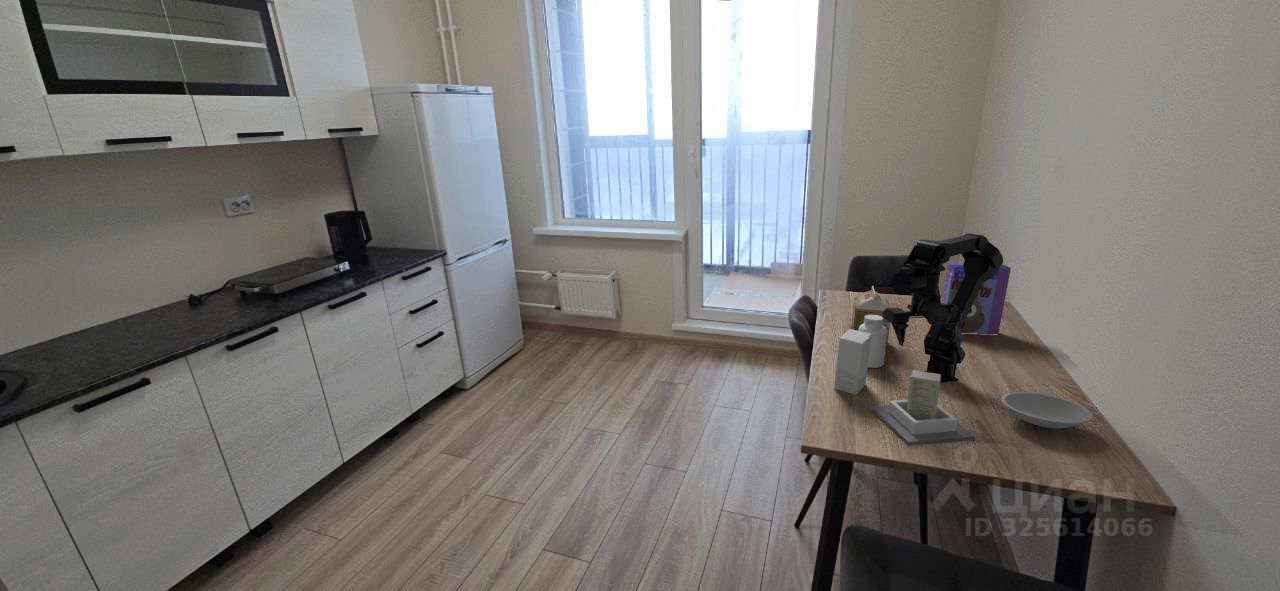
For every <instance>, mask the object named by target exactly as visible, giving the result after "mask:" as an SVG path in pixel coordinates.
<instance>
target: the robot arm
mask: <svg viewBox="0 0 1280 591" xmlns="http://www.w3.org/2000/svg"><path fill="white" fill-rule="evenodd" d="M958 255H961V256H962V258H963V259H964V260H963V263H962V264H963V268H964V273H965V276H964V278H963V280H962V282H961V284H960V286H959V288H958V290H957V292H956V294H955V296H954V298H953V300H952V302H951V304H948V305H946V304H942V300H941V299H942V297H941V294H939V293H938V291H939V285H940V278H941V273H942V272H944V271H946V267H945V266H944V264H946V263H948V262H949V261H950V259H951V257H954V256H958ZM1003 263H1004V256H1003V254H1002V253H1001V251H1000V249H999V248H998V247H996V246H995V245H994V244H993V243H991V242H990V241H989V239H988V238H987V236H984V235H983V234H976V233H965V234H964V235H959V236H956V237H952V238H951V237H950V238H947V239H944V240H934V239H920V240H918V241H916V243H915V245H914V246H913V247H912V249H911V251H910V253H909V255H908V256H907V258H906V260H905V261H904V263H903V267H900V268H899V272H897V273H896V274H894V275H893V277H892V278H891V280H890V286H891V290H892V291H894V293H896V294H897V295H899V296H905V295H911V301H910V304H907V309H908V310H909V311H908V310H907V311H905V310H904V309H901V308H900V307H890V308H886V309H885V310H884V311H883V316H882V318H884V319H886V320H887V321H889V322H890V325H892V328H893V331H894V333H895V335H896V338H897V341H898V343H899V344H898V345H900V346H901V347H903V346H904V344H905V338H906V330H907V328H908V327H909V326H910V324H908V322H909V321H910V319H921V318H925V319H926V321H927V323H928V325H930V327H929V329H928V331H927V333H926V334H925V336H924V339H923V348H924V349H923V350H924V354H925V355H928V356H929V360H928V361H927V366H926V370H924V372H930V373H936V374H941V380H940V383H948V382H958V381H959V378H958V377H956V371H957V366H958V365H959V364H962V362H963V361H964V359H965V357H966V355H967V354H966V352H965V350H964V348H963V347H962V346H961V345H962V343H963V335H961V327H962V325H963V323H964V321H965V319H966V317H967V315H968V313H969V311H970V309H971V307H972V305H973V303H974V301H975V299H976V297H977V295H978V293H979V291H980V289H981V287H982V285H983V283H984V282H985V281H987V280H989V279H990V278H992V277H993V276H995V274H996V272H997V271H998V269H999V268H1000V267H1001V266H1002V265H1004V264H1003Z"/></svg>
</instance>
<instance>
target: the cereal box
mask: <svg viewBox="0 0 1280 591" xmlns="http://www.w3.org/2000/svg"><path fill="white" fill-rule="evenodd" d="M945 271H946V272H945V279H944V286H943V291H942V297H941V299H942V300H941V304H946V305H948V304H951V302H952V300H953V298H954V296H955V294H956V292H957V290H958V288H959V286H960V284H961V282H962V280H963V278H964V276H965V273H964V268H963V263H961V264H957V263H953V264H952V263H947V265H946V270H945ZM1010 274H1011V267H1010V266H1008V265H1005V264H1002V266H1001V267H1000V268H999V269H998V271H997V272H996V274H995V276H993V277H992V278H990V279H989V280H987V281H985V282H984V283H983V285H982V287H981V289H980V291H979V293H978V295H977V297H976V299H975V301H974V303H973V305H972V307H971V309H970V311H969V313H968V315H967V317H966V319H965V321H964V323H963V325H962V327H961V333H977V334H998V335H999V332H1000V327H1001V323H1002V318H1003V311H1004V306H1005V301H1006V295H1007V290H1008V285H1009V279H1010Z"/></svg>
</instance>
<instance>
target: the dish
mask: <svg viewBox="0 0 1280 591" xmlns="http://www.w3.org/2000/svg"><path fill="white" fill-rule="evenodd" d="M1000 400H1001V403H1002V404H1003V406H1005V407H1006V408H1007V409H1008V410H1009V411H1010V412H1011V413H1012V414H1013V415H1015V416H1016V417H1017V418H1019V419H1020V420H1022V421H1024V422H1026V423H1028V424H1031V425H1035V426H1039V427H1042V428H1047V429H1048V428H1050V429H1066V428H1071V427H1074V426H1075V427H1076V426H1078V425H1080V424H1084V423H1087V422H1090V421H1091V420H1092V419H1093V418H1094V417H1093V413H1092V412H1091V410H1089V409H1088V408H1087V407H1085V406H1083V405H1081V404H1079V403H1077V402H1074V401H1072V400H1070V399H1066V398H1062V397H1059V396H1055V395H1051V394H1045V393H1040V392H1029V391H1028V392H1027V391H1014V392H1013V391H1012V392H1009V393H1005V394H1003V395H1002V396H1001V398H1000Z"/></svg>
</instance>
